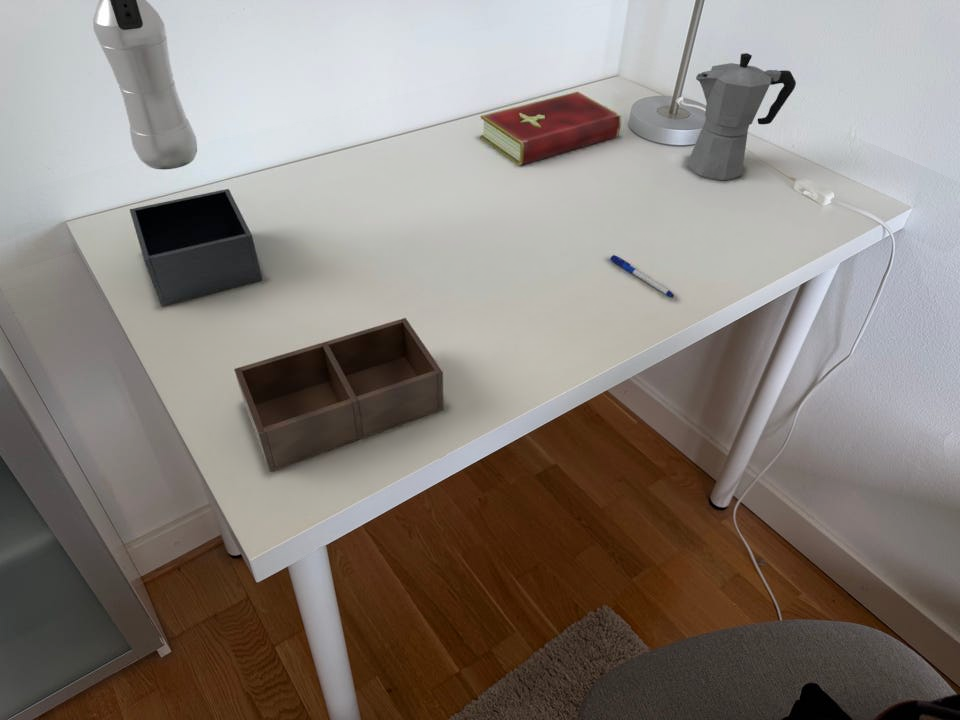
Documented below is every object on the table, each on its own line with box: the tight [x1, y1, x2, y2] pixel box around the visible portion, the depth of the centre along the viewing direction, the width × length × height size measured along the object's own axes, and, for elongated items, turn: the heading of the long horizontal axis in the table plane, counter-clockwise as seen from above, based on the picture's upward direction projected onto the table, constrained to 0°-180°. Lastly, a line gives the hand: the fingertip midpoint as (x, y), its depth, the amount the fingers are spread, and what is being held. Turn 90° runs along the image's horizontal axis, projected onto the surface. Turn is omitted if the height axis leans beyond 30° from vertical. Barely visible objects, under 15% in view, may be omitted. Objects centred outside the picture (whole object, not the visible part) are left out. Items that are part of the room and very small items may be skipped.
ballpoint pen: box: [610, 254, 675, 298], centre depth 89 cm, size 10×1×1 cm, turn 40°
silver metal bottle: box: [92, 0, 198, 170], centre depth 72 cm, size 6×7×20 cm
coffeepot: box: [686, 52, 797, 181], centre depth 106 cm, size 15×9×18 cm, turn 93°
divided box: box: [233, 317, 444, 472], centre depth 69 cm, size 18×9×5 cm, turn 118°
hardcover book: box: [479, 91, 622, 167], centre depth 117 cm, size 12×21×4 cm, turn 123°
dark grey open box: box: [129, 188, 263, 307], centre depth 86 cm, size 12×12×7 cm
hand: (126, 17), depth 68 cm, fingers closed on silver metal bottle, 6 cm apart
